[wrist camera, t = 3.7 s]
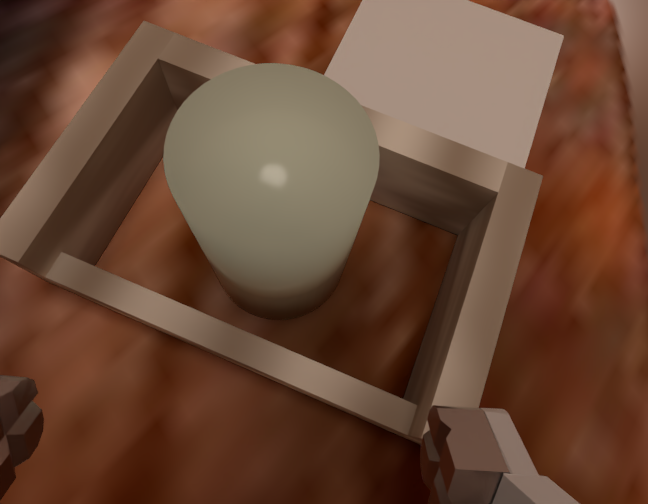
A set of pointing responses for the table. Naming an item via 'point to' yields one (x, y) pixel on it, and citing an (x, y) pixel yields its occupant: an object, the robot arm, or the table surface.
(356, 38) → the concrete tile
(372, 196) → the frame
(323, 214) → the sage green rounded cylinder
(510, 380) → the table surface
